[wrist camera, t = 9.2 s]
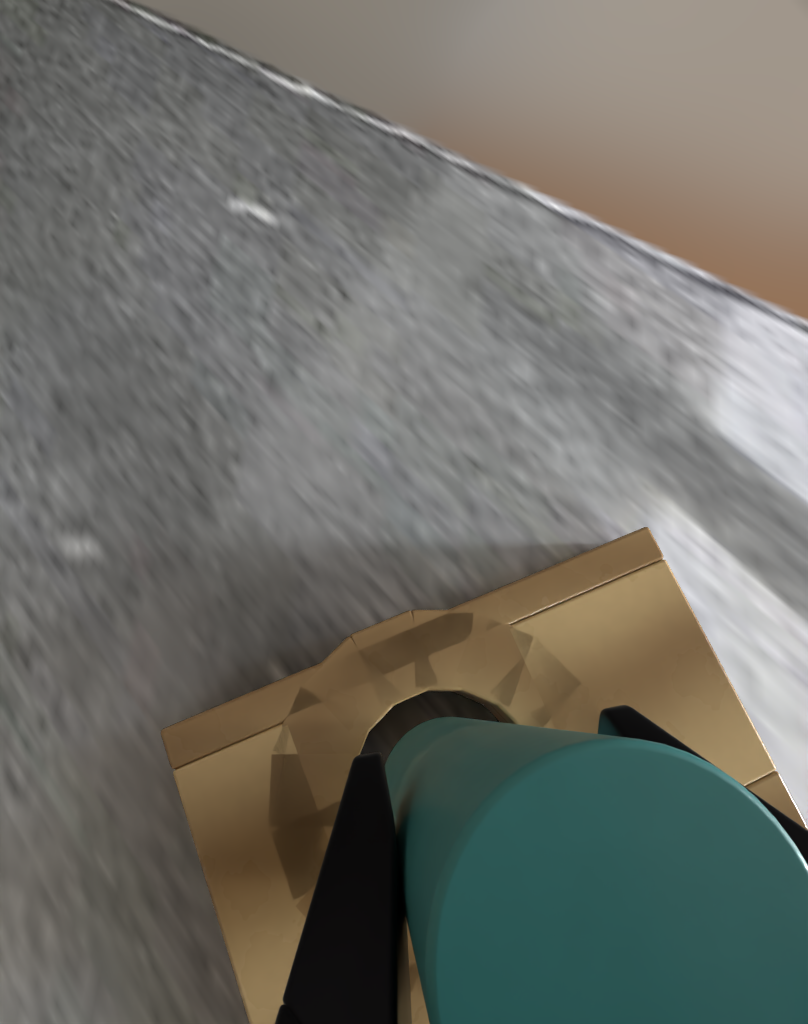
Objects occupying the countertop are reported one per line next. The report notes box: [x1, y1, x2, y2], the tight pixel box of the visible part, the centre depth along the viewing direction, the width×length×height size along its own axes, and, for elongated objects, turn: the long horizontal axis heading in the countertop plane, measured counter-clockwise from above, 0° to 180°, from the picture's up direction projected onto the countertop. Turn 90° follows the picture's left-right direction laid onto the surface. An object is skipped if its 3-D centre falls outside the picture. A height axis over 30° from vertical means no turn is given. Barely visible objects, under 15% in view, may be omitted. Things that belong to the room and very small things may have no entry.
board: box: [161, 527, 808, 1024], centre depth 16 cm, size 20×14×2 cm
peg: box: [385, 717, 808, 1024], centre depth 10 cm, size 3×3×11 cm
